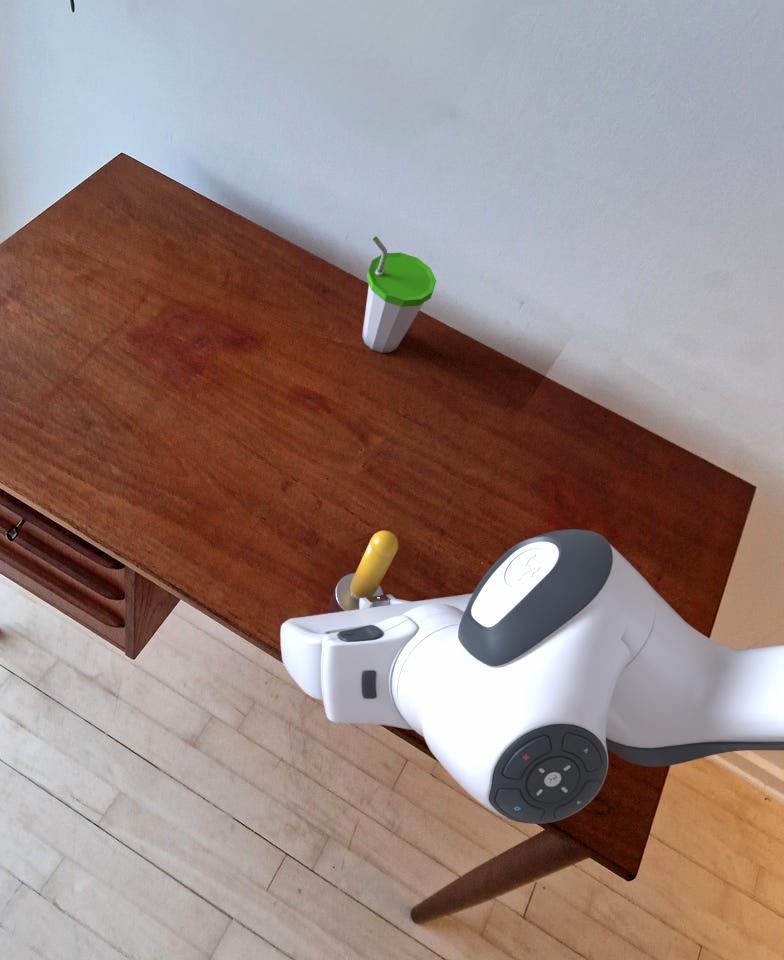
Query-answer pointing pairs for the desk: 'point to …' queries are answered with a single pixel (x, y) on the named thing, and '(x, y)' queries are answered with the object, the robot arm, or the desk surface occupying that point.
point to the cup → (394, 297)
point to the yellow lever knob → (365, 574)
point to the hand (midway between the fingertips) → (374, 604)
